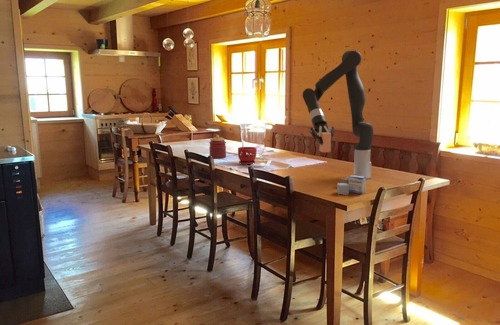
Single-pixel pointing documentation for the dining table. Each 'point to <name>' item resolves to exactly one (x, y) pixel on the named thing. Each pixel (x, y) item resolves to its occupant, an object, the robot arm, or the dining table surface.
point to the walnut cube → (344, 180)
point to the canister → (217, 147)
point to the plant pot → (247, 155)
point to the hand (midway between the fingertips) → (326, 143)
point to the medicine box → (357, 184)
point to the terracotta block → (325, 142)
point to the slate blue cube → (343, 188)
